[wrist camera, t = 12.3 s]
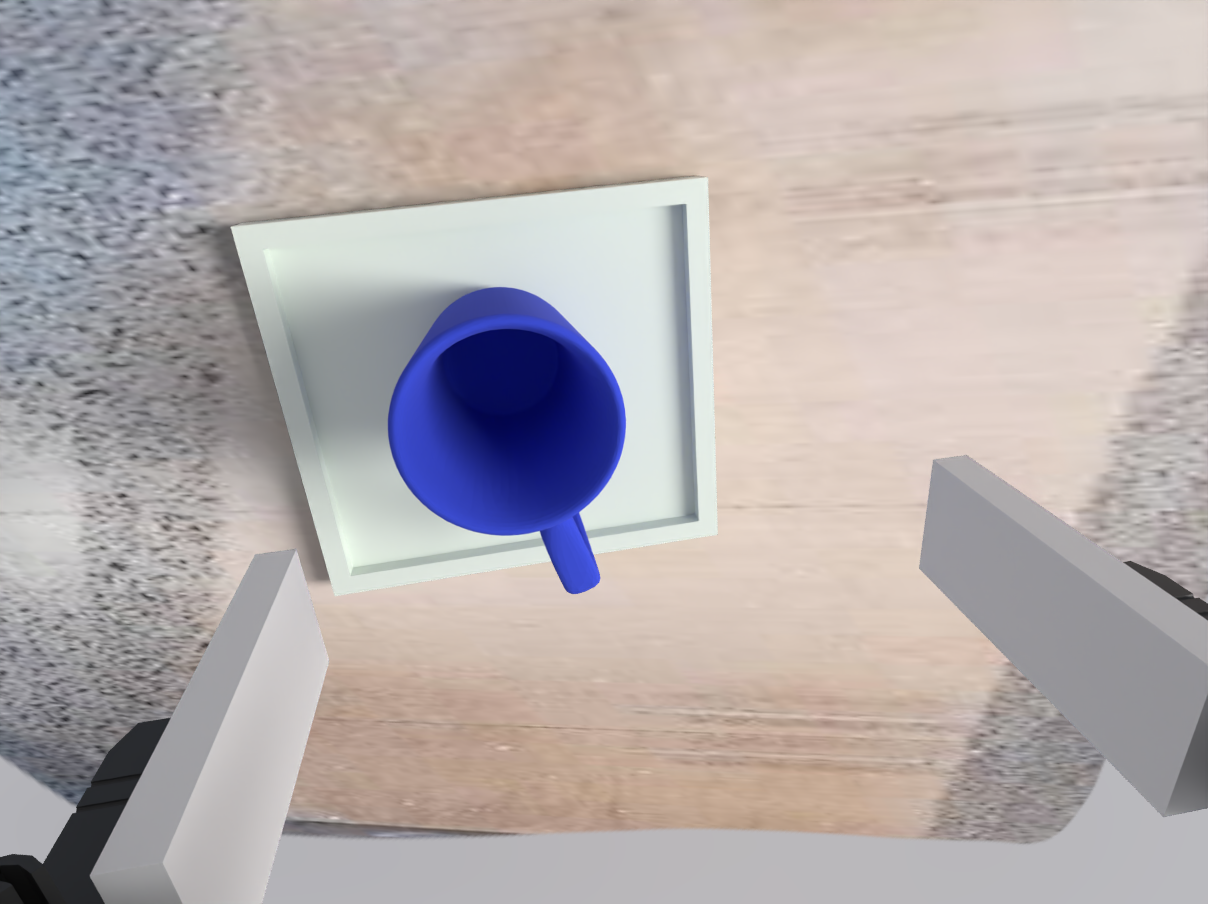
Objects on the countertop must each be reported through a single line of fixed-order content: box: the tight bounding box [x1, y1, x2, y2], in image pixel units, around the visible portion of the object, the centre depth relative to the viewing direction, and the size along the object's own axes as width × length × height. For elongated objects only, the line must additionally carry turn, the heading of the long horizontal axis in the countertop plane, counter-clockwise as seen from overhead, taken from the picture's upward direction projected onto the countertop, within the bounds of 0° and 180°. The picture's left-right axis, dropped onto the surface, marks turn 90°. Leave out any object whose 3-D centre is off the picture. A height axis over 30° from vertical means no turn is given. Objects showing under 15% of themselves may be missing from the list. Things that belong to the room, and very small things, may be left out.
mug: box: [388, 287, 626, 594], centre depth 31 cm, size 8×12×10 cm
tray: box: [231, 176, 718, 596], centre depth 35 cm, size 18×20×2 cm
